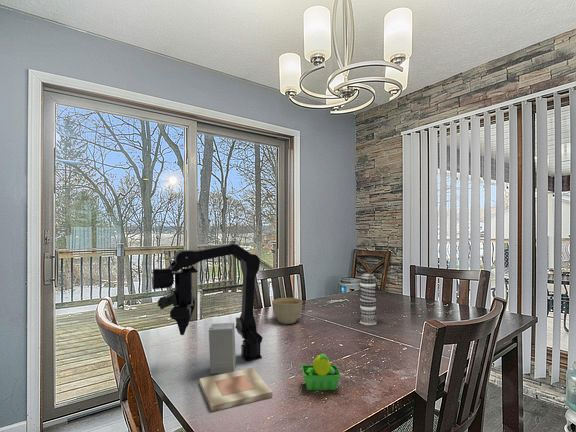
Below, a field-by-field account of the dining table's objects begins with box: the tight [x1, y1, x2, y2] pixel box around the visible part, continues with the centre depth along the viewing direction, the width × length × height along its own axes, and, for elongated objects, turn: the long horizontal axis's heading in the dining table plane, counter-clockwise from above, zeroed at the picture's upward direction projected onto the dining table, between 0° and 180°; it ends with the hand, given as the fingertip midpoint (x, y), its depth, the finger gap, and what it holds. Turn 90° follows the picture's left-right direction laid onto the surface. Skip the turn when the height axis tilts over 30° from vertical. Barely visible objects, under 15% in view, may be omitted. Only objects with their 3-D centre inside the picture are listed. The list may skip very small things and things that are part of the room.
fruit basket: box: [301, 353, 341, 391], centre depth 104 cm, size 11×9×11 cm
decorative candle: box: [358, 273, 378, 326], centre depth 172 cm, size 9×9×25 cm
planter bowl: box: [271, 297, 303, 325], centre depth 174 cm, size 16×16×11 cm
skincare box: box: [208, 322, 237, 375], centre depth 116 cm, size 8×7×16 cm
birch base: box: [199, 367, 273, 412], centre depth 102 cm, size 18×18×2 cm
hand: (184, 330), depth 116 cm, fingers open, 9 cm apart
